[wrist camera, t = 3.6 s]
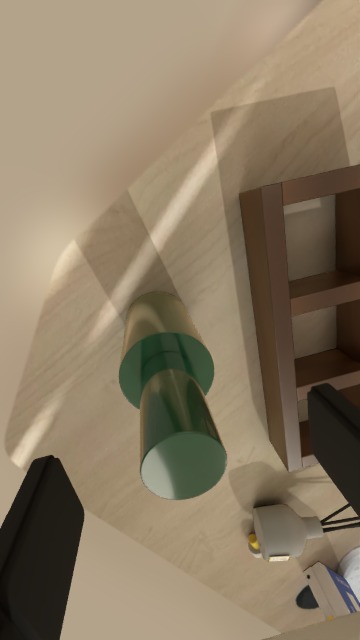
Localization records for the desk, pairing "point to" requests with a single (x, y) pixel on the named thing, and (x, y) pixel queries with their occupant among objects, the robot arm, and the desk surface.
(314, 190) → the rack
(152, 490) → the bottle
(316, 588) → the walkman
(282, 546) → the reed diffuser
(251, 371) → the desk surface
